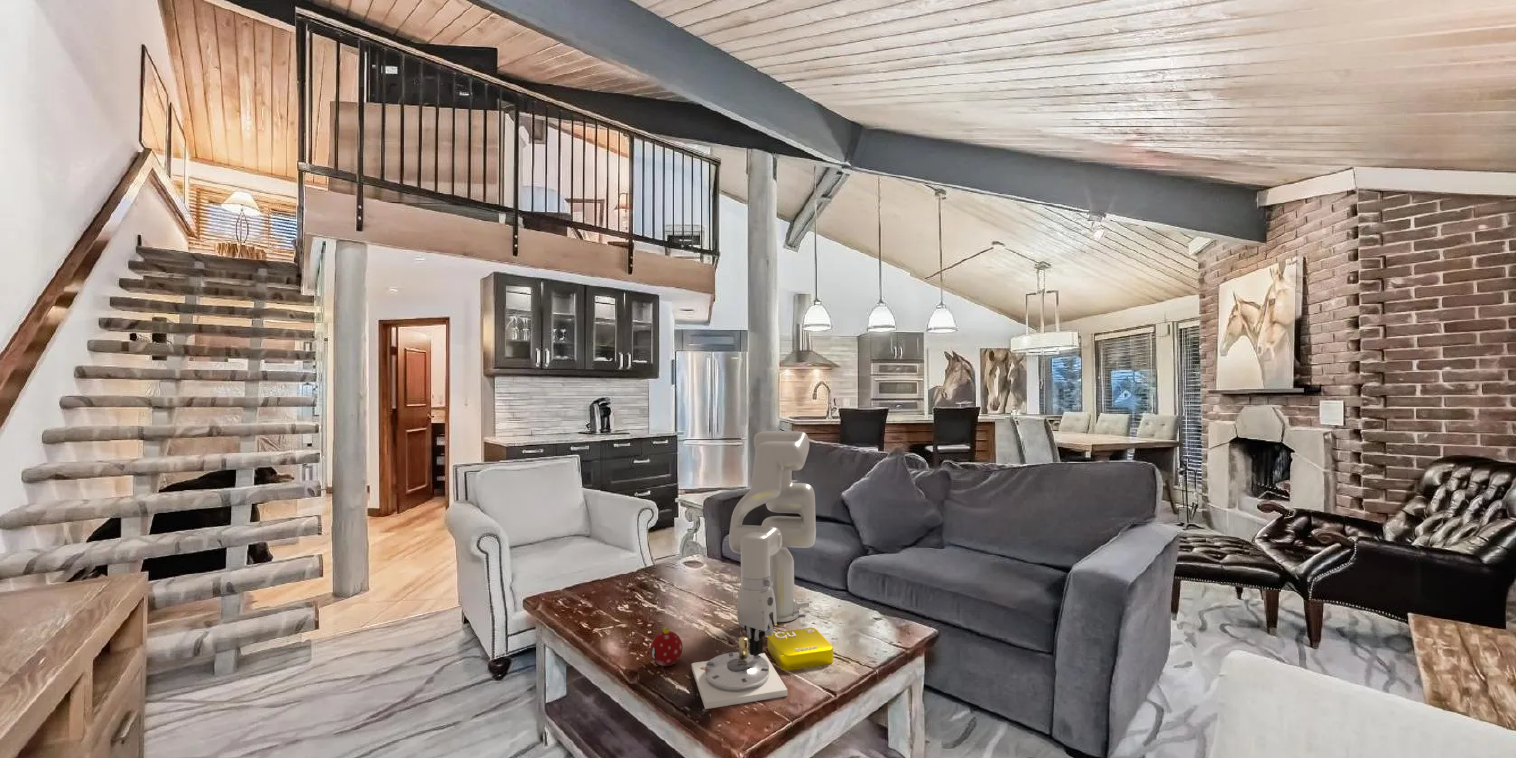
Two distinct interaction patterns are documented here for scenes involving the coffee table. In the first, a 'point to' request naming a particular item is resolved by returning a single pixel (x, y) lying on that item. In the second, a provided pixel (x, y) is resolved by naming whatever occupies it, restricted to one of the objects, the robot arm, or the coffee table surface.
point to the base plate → (724, 698)
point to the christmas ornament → (666, 648)
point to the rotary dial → (737, 670)
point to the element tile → (800, 649)
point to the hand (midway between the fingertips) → (756, 653)
